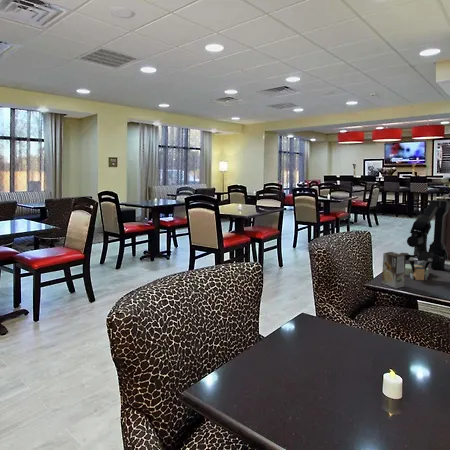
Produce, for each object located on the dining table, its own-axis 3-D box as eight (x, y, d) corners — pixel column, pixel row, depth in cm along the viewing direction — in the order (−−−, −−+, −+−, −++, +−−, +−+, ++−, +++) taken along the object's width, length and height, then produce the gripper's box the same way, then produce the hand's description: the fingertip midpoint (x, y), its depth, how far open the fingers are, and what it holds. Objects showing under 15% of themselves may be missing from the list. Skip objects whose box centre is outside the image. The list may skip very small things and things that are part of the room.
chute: (420, 276, 209) (421, 264, 208) (423, 280, 203) (424, 267, 202) (412, 276, 210) (413, 263, 209) (415, 279, 204) (416, 267, 203)
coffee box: (404, 286, 193) (406, 255, 191) (395, 288, 191) (397, 256, 188) (390, 281, 202) (391, 251, 199) (381, 283, 199) (382, 252, 196)
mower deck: (424, 271, 218) (425, 260, 217) (432, 280, 202) (433, 268, 201) (401, 270, 220) (401, 259, 219) (407, 279, 205) (407, 267, 204)
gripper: (404, 246, 198) (402, 276, 201) (444, 248, 194) (442, 278, 196) (400, 242, 209) (398, 270, 211) (438, 243, 204) (436, 272, 207)
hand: (418, 272), depth 206 cm, fingers open, 5 cm apart
